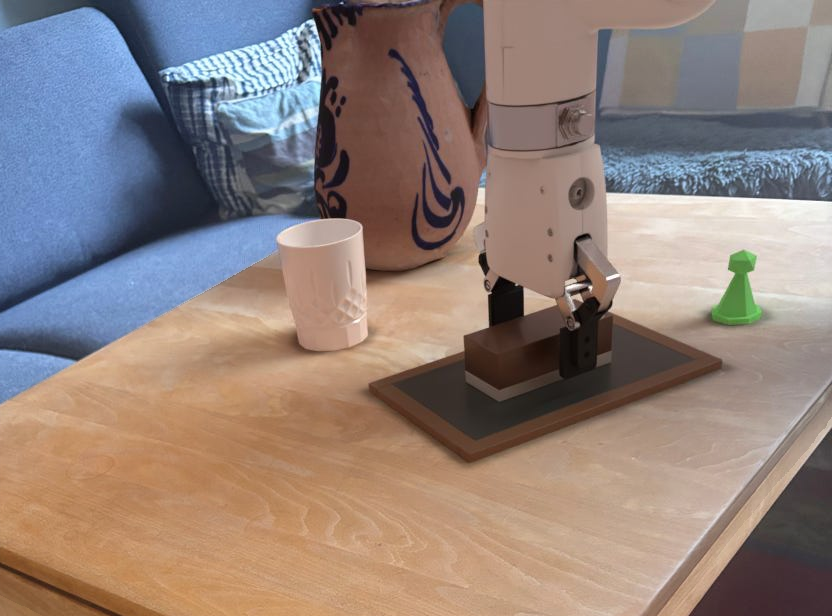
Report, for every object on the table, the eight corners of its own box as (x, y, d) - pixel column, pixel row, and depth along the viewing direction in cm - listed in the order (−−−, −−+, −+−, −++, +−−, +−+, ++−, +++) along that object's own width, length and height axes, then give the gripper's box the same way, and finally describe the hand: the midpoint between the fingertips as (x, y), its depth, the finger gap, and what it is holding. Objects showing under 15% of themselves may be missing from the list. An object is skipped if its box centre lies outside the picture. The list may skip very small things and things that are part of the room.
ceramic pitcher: (309, 253, 115) (273, 3, 99) (477, 217, 118) (467, -31, 102) (347, 299, 101) (312, 18, 86) (535, 257, 104) (535, -21, 88)
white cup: (327, 363, 89) (310, 252, 83) (277, 343, 94) (258, 238, 88) (391, 334, 93) (380, 226, 86) (339, 317, 98) (326, 213, 91)
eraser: (573, 344, 83) (575, 298, 81) (611, 362, 80) (613, 314, 77) (465, 382, 80) (462, 335, 78) (499, 402, 77) (497, 354, 74)
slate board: (596, 316, 90) (596, 306, 89) (721, 371, 78) (723, 359, 78) (369, 393, 83) (367, 382, 83) (470, 466, 72) (469, 454, 71)
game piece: (753, 330, 84) (763, 260, 80) (702, 325, 86) (710, 256, 82) (767, 312, 86) (778, 242, 82) (718, 307, 88) (726, 239, 85)
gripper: (666, 127, 63) (648, 374, 74) (514, 98, 76) (518, 312, 87) (572, 154, 61) (568, 404, 72) (432, 119, 74) (446, 336, 84)
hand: (540, 354), depth 79 cm, fingers open, 9 cm apart
